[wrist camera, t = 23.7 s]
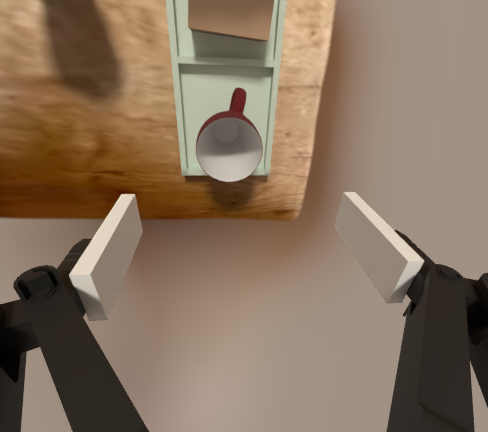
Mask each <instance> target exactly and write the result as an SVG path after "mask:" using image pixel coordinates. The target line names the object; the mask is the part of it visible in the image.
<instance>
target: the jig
mask: <svg viewBox="0 0 488 432" xmlns="http://www.w3.org/2000/svg"><path fill="white" fill-rule="evenodd" d="M286 2H287V0H274V7H273V14H272V21H271V28H270V35H269V41H264V42H258V41H252V40H246V39H239V38H233V37H227V36H221V35H214V34H208V33H202V32H195V31H191V30H190V29H189V28H188V0H166V9H167V20H168V31H169V41H170V52H171V63H172V73H173V84H174V94H175V105H176V116H177V126H178V137H179V147H180V158H181V169H182V175H208V174H206V173H205V172H204V170H203V169H202V168H201V166H200V164H199V162H198V160H197V156H196V141H197V136H198V133H199V130H200V128H201V127H202V125H203V124H204V123H205V121H206V120H208V119H209V118H210V117H211V116H213V115H215V114H217V113H219V112H223V111H228V110H229V108H230V103H231V98H232V94H233V92H234V90H235V88H238V87H239V88H243V89H244V90H245V91H246V93H247V96H246V103H245V108H244V111H243V115H244V116H246V117H247V118H248V119H249V120H250V121H251V122H252V123H253V124H254V126H255V127H256V129H257V130H258V132H259V135H260V137H261V140H262V145H263V154H262V159H261V161H260V164H259V166H258V167H257V169H256V170H255V171H254V172H253V173H252V174H251V175H269V173H270V163H271V153H272V143H273V133H274V123H275V113H276V103H277V93H278V83H279V73H280V63H281V53H282V43H283V32H284V22H285V12H286Z"/></svg>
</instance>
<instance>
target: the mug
mask: <svg viewBox="0 0 488 432" xmlns="http://www.w3.org/2000/svg"><path fill="white" fill-rule="evenodd" d="M246 96H247V93H246V91H245V90H244V89H243V88H239V87H238V88H235V90H234V92H233V94H232V98H231V103H230V108H229V110H228V111H223V112H219V113H217V114H215V115H213V116H211V117H210V118H209V119H208V120H206V121H205V123H204V124H203V125H202V127H201V128H200V130H199V133H198V136H197V141H196V156H197V160H198V162H199V164H200V166H201V168H202V169H203V170H204V172H205V173H206V174H208V175H209V176H210V177H212V178H214V179H216V180H218V181H222V182H237V181H240V180H243V179H245V178H247V177H248V176H250V175H251V174H252V173H253V172H254V171H255V170H256V169H257V167H258V166H259V164H260V161H261V159H262V154H263V145H262V140H261V137H260V135H259V132H258V130H257V129H256V127H255V126H254V124H253V123H252V122H251V121H250V120H249V119H248V118H247V117H246V116H244V115H243V111H244V108H245V103H246Z"/></svg>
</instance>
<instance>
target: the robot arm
mask: <svg viewBox="0 0 488 432" xmlns="http://www.w3.org/2000/svg"><path fill="white" fill-rule="evenodd" d="M334 227H335V229H336V230H337V232H338V233H339V235H340V236H341V237H342V239H343V241H344V242H345V243H346V245H347V246H348V248H349V249H350V251H351V252H352V254H353V255H354V256H355V258H356V259H357V261H358V262H359V264H360V265H361V267H362V268H363V269H364V271H365V272H366V274H367V275H368V277H369V278H370V280H371V281H372V282H373V284H374V285H375V287H376V288H377V290H378V291H379V293H380V294H381V295H382V297H383V298H384V300H385V301H386V303H402V301H403V299H404V297H405V295H406V294H407V295H408V297H409V298H410V299H411V302H410V303H409V305H408V307H407V309H406V311H405V312H404V314H403V316H406V314H407V316H406V322H405V328H404V334H403V340H402V345H401V351H400V358H399V363H398V369H397V375H396V380H395V386H394V392H393V398H392V404H391V409H390V415H389V421H388V427H387V432H475V431H474V417H473V402H472V388H471V372H470V361H471V364H472V367H473V369H474V372H475V374H476V377H477V380H478V383H479V385H480V388H481V391H482V394H483V396H484V399H485V402H486V404H487V407H488V273H484V274H483V275H482V276H481V277H480V279H479V280H472V279H467V278H463V276H461V274H460V273H458V272H457V271H456V270H454V269H452V268H450V267H448V266H445V265H441V264H435V263H434V262H433V261H432V260H431V259H430V258H429V257H428V256H427V255H426V254H425V253H424V252H422V251H421V250H420V249H419V248H417V246H416V245H415V244H414V243H412V241H411V240H410V239H409V238H408V237H407V236H405V235H404V234H402V233H400V232H399V231H397V230H393V229H392V228H391V227H390V226H389V225H387V223H386V222H385V221H384V220H383V219H382V218H381V217H379V215H377V213H375V212H374V211H373V210H372V209H371V208H370V207H369V206H368V205H367V204H366V203H365V202H364V201H363V200H362V199H361V198H360V197H359V196H358V195H357V194H356V193H355V192H344V193H343V197H342V200H341V204H340V208H339V211H338V215H337V218H336V222H335V226H334ZM142 232H143V231H142V226H141V221H140V216H139V212H138V207H137V202H136V197H135V194H121V196H120V197H119V199H118V201H117V202H116V204H115V205H114V207H113V208H112V210H111V211H110V213H109V214H108V216H107V217H106V219H105V220H104V222H103V224H102V225H101V227H100V228H99V230H98V231H97V233H96V234H95V236H94V237H93V239H82V240H81V241H80V242H78V243H77V244H75V245H74V246H73V247H72V249H71V250H70V252H69V253H68V255H67V256H66V257H65V259H64V261H62V263H61V264H60V265H59V267H58V268H57V269H56V268H55V267H53V266H48V265H45V266H38V267H35V268H32V269H30V270H28V271H26V272H24V273H23V274H21V275H20V276H19V277H17V279H16V280H15V282H14V289H15V290H16V292H17V294H18V295H19V297H20V298H21V299H20V300H16V301H12V302H8V303H4V304H0V432H21V419H22V406H23V392H24V379H25V366H26V352H27V351H29V350H32V349H35V348H38V347H40V348H41V350H42V353H43V356H44V358H45V361H46V363H47V366H48V369H49V371H50V374H51V376H52V379H53V382H54V384H55V387H56V390H57V392H58V395H59V397H60V400H61V403H62V405H63V408H64V410H65V413H66V416H67V418H68V421H69V423H70V426H71V429H72V431H73V432H149V431H148V429H147V427H146V426H145V424H144V422H143V421H142V419H141V417H140V415H139V414H138V412H137V410H136V409H135V407H134V405H133V403H132V402H131V400H130V398H129V396H128V395H127V393H126V391H125V389H124V388H123V386H122V384H121V382H120V381H119V379H118V377H117V376H116V374H115V372H114V370H113V369H112V367H111V365H110V364H109V362H108V360H107V358H106V357H105V355H104V353H103V351H102V350H101V348H100V346H99V344H98V343H97V341H96V340H95V338H94V336H93V334H92V332H91V331H90V329H89V327H88V325H87V324H86V322H85V320H84V319H83V316H84V314H85V313H86V315H87V317H88V319H89V321H96V320H108V318H109V315H110V313H111V310H112V308H113V305H114V303H115V300H116V297H117V295H118V292H119V290H120V287H121V285H122V282H123V280H124V277H125V275H126V272H127V270H128V267H129V265H130V262H131V260H132V257H133V255H134V252H135V250H136V247H137V244H138V242H139V240H140V237H141V235H142Z"/></svg>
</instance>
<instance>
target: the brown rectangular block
mask: <svg viewBox="0 0 488 432" xmlns="http://www.w3.org/2000/svg"><path fill="white" fill-rule="evenodd" d="M273 7H274V0H188V28H189V29H190V30H191V31H195V32H202V33H208V34H214V35H221V36H227V37H233V38H239V39H246V40H252V41H258V42H264V41H269V35H270V28H271V21H272V14H273Z"/></svg>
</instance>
